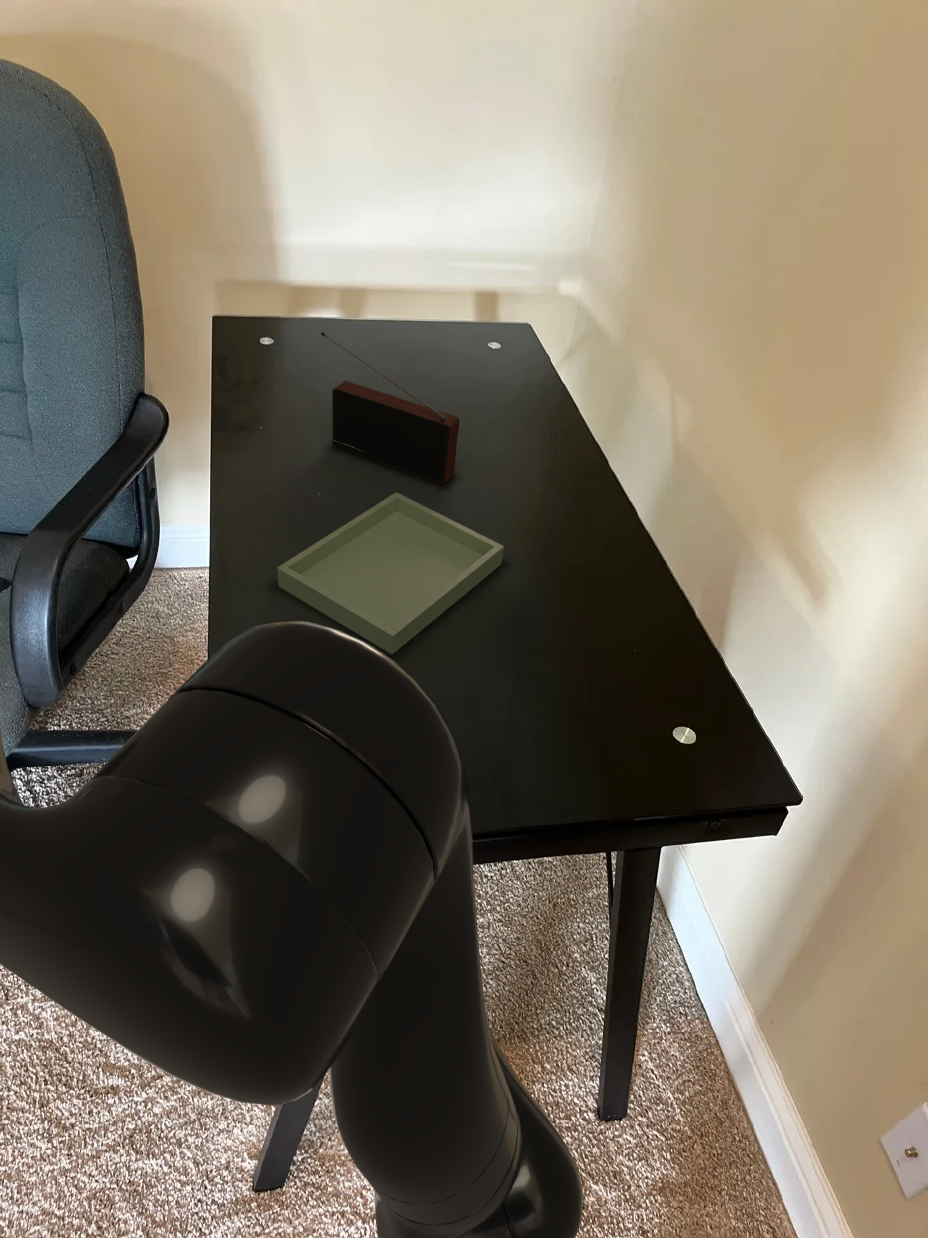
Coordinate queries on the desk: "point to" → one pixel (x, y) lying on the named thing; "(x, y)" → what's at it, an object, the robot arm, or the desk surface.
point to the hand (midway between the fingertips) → (329, 727)
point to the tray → (390, 570)
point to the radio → (394, 430)
